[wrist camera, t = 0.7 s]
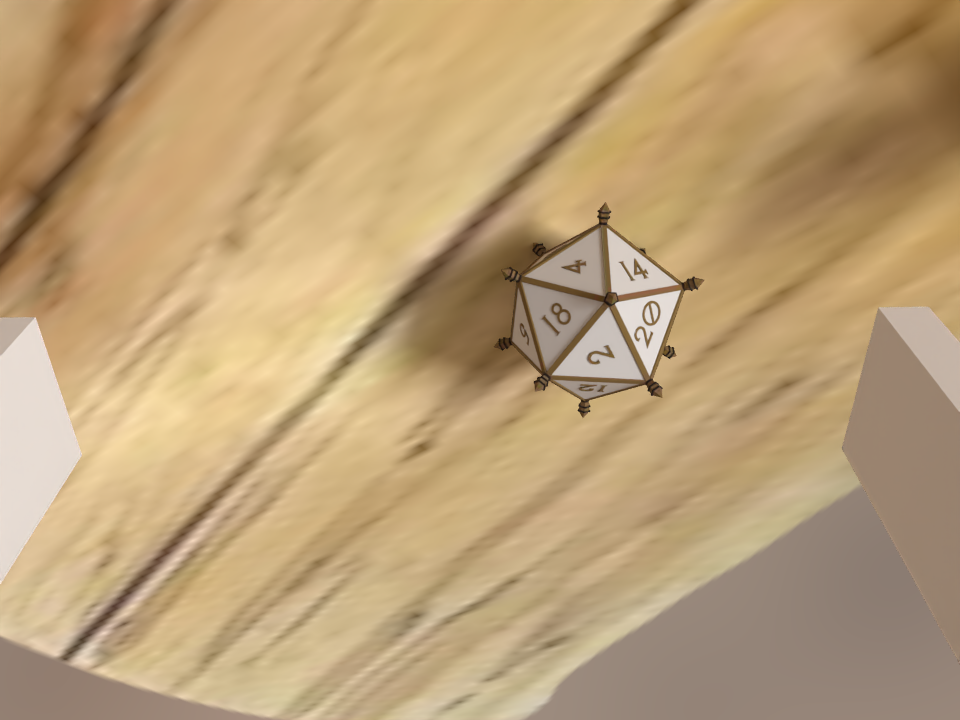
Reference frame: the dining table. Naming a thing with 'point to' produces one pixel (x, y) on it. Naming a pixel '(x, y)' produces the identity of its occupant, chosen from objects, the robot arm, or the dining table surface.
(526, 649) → the dining table surface
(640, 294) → the game die
